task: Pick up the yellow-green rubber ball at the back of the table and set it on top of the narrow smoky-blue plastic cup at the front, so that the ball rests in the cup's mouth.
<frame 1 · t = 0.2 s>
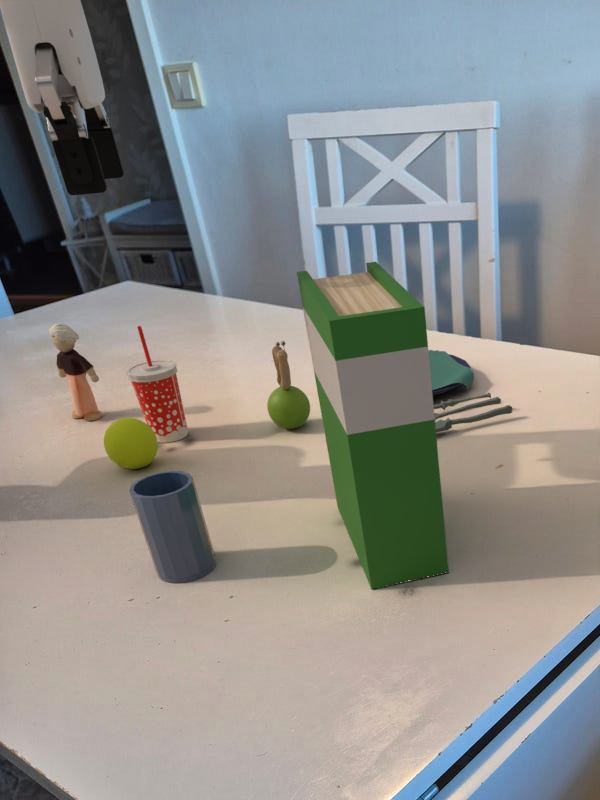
hand: (98, 185, 76), 31 cm above the table, tool pointing down, fingers open, 9 cm apart
cup: (187, 567, 82), on the table
snail figurine: (293, 430, 110), on the table
hardback book: (389, 539, 85), on the table
beverage cup: (171, 437, 110), on the table
grandmother figurine: (91, 418, 117), on the table
cutlery set: (415, 398, 117), on the table
ball: (131, 443, 101), point 3 cm above the table
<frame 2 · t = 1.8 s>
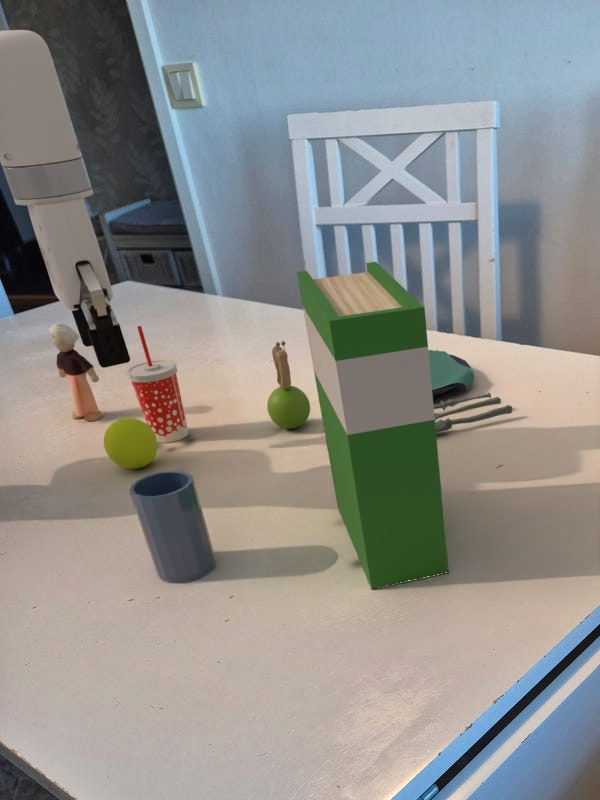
hand: (106, 353, 94), 14 cm above the table, tool pointing down, fingers open, 9 cm apart
nothing on the table moved.
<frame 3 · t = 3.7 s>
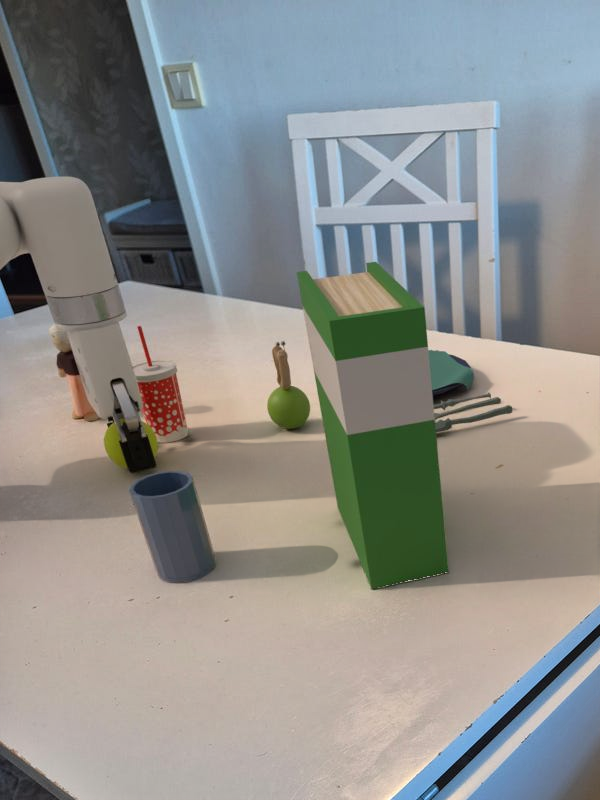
hand: (136, 459, 102), 1 cm above the table, tool pointing down, fingers closed on ball, 5 cm apart
ball: (131, 443, 101), point 3 cm above the table, touching gripper
everything else where it was.
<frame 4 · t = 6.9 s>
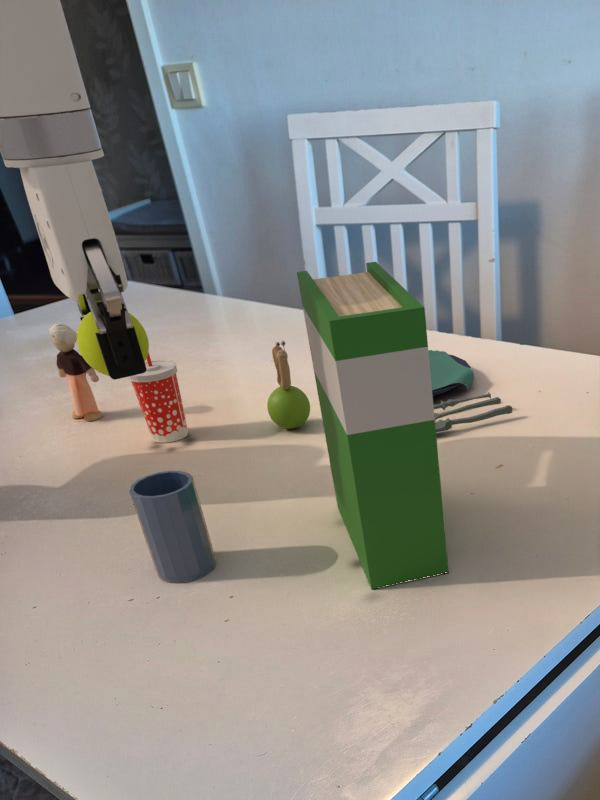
hand: (119, 364, 77), 18 cm above the table, tool pointing down, fingers closed on ball, 5 cm apart
ball: (113, 342, 76), point 20 cm above the table, touching gripper
everything else where it was.
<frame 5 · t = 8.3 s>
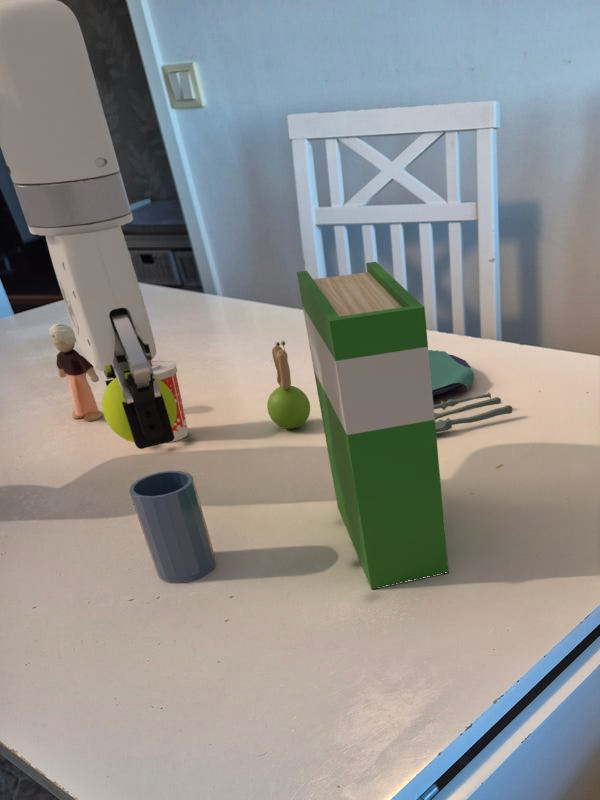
hand: (146, 430, 74), 14 cm above the table, tool pointing down, fingers closed on ball, 5 cm apart
ball: (140, 408, 73), point 16 cm above the table, touching gripper
everything else where it was.
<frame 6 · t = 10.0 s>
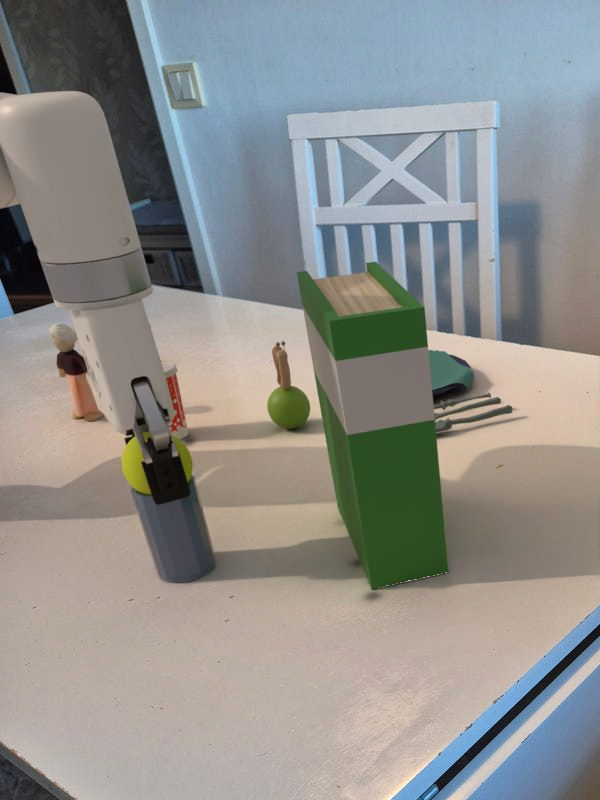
hand: (163, 484, 77), 9 cm above the table, tool pointing down, fingers closed on ball, cup, 5 cm apart
cup: (187, 567, 82), on the table, touching ball, gripper
ball: (157, 464, 76), point 11 cm above the table, touching cup, gripper
everything else where it was.
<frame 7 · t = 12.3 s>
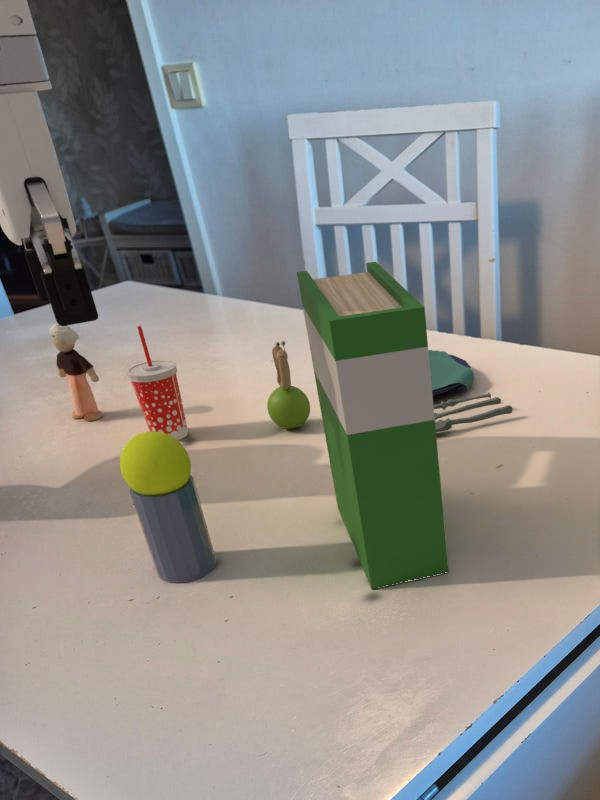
hand: (68, 309, 72), 23 cm above the table, tool pointing down, fingers open, 9 cm apart
cup: (187, 567, 82), on the table, touching ball
ball: (155, 465, 76), point 11 cm above the table, touching cup
everything else where it was.
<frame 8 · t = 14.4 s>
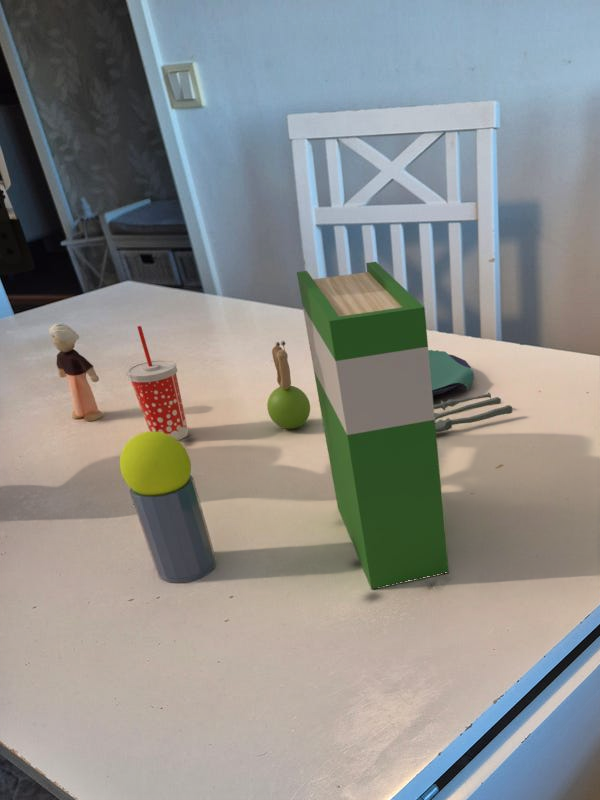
hand: (9, 262, 76), 26 cm above the table, tool pointing down, fingers open, 9 cm apart
nothing on the table moved.
at the end: ball 0.0 cm off-centre on the cup, point 10.8 cm above the cup's base; cup tilted 0°; the gripper is holding nothing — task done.
